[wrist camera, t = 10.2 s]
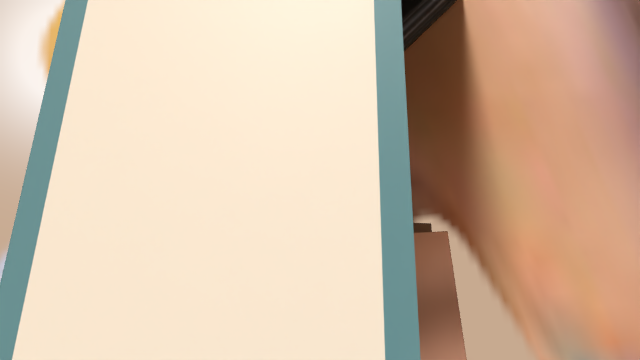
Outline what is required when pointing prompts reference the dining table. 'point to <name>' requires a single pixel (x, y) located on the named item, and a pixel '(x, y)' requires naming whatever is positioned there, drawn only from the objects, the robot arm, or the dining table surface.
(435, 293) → the shelf
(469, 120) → the dining table surface
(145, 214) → the book
